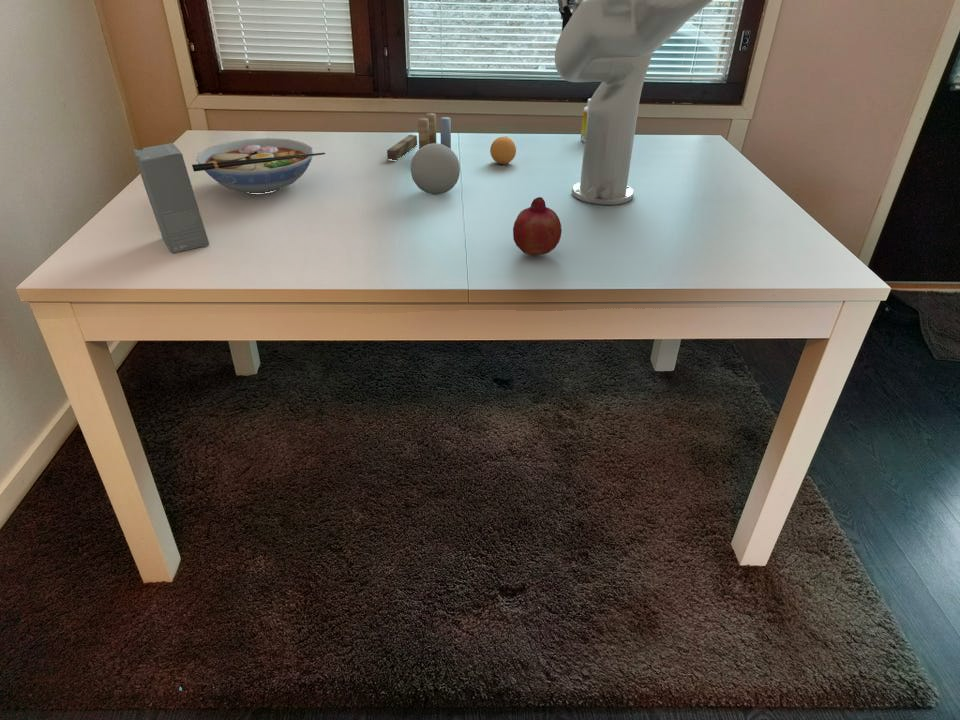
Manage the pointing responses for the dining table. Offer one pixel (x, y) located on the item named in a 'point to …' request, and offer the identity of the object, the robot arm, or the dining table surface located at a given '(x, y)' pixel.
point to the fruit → (537, 229)
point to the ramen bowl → (256, 163)
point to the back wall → (402, 147)
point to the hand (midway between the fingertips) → (582, 39)
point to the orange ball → (503, 150)
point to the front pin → (445, 131)
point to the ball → (435, 169)
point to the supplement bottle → (584, 121)
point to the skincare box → (171, 196)
